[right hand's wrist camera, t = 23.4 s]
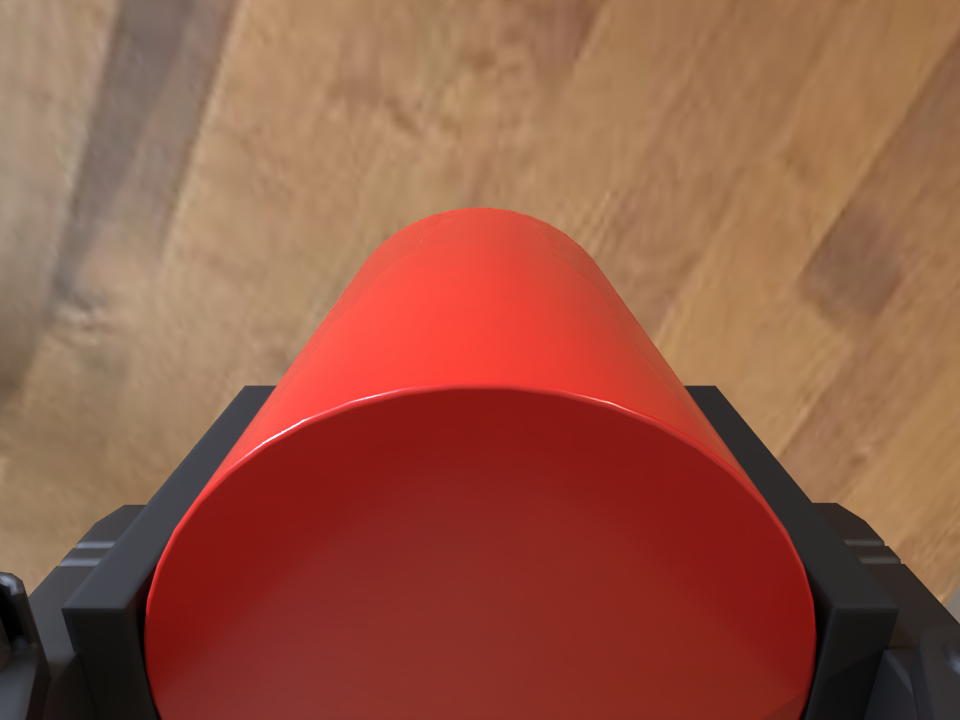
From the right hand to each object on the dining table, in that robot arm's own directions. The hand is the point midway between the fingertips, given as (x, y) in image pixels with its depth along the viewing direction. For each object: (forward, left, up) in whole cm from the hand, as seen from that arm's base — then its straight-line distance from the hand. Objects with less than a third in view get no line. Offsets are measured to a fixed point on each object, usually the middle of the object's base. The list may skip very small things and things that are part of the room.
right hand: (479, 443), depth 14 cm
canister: (0, 0, -6) cm, 6 cm away
